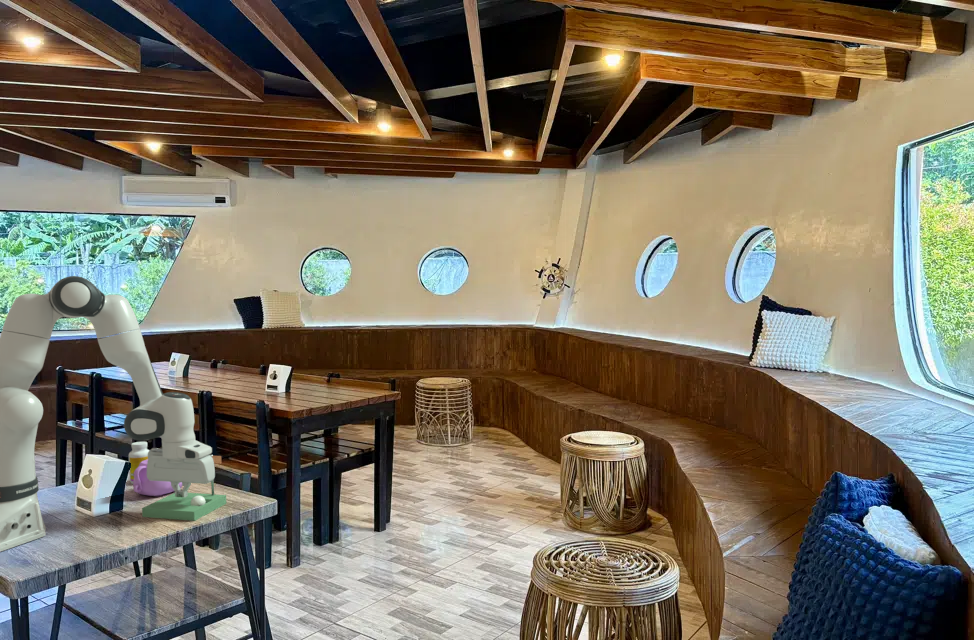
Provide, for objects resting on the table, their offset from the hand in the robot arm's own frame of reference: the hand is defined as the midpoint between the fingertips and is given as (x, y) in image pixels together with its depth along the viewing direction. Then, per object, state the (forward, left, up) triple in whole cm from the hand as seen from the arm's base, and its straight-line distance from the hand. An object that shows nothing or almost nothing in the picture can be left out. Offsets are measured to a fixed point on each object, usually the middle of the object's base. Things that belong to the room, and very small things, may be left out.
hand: (181, 496), depth 210 cm
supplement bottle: (+22, +31, -4) cm, 38 cm away
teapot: (+15, +18, -4) cm, 24 cm away
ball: (0, -5, -2) cm, 6 cm away
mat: (0, -1, -4) cm, 4 cm away
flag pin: (+7, -7, -1) cm, 10 cm away
